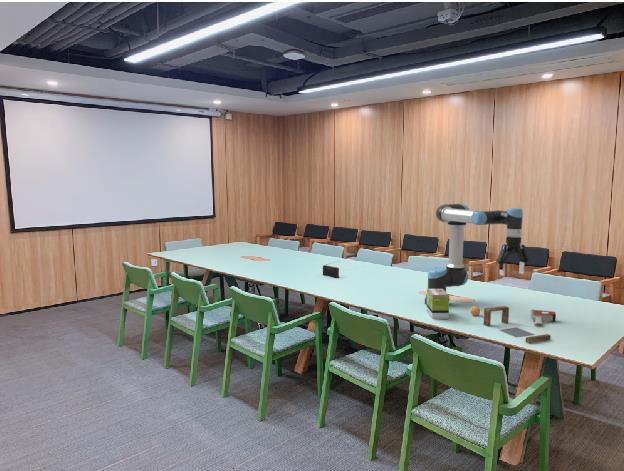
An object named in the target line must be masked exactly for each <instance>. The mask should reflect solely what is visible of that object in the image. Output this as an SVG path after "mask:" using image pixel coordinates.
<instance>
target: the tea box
mask: <svg viewBox="0 0 624 471" xmlns="http://www.w3.org/2000/svg"><path fill="white" fill-rule="evenodd" d="M426 295H427V304H426V312H427V314H428V315H429V317H430V318H431V319H432V320H449V319H450V294H449V293H448V292H447V290H446V291H445V290H443V289H428V288H426Z"/></svg>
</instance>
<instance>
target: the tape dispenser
mask: <svg viewBox="0 0 624 471" xmlns="http://www.w3.org/2000/svg"><path fill="white" fill-rule="evenodd" d="M556 314H557V313H556V311H552V310H550V311H549V310H542V309H541V310H540V309H539V310H538V309H531V310H530V317H531V319H532V321H533V323H534V327H536V328H542V327H543V326H544V324H543V323H549V322H552V323H555V322H556V321H557V320H556V318H557V317H556Z"/></svg>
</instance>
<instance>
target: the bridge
mask: <svg viewBox="0 0 624 471" xmlns="http://www.w3.org/2000/svg"><path fill="white" fill-rule="evenodd" d="M499 311H501V323H503V324H506V325H507V324H509V317H510V316H509V314H510V307H509V306H506V305H502V306H493V307H486V308H484V309H483V326H486V327H491V318H492V312H499Z"/></svg>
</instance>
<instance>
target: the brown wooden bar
mask: <svg viewBox="0 0 624 471" xmlns="http://www.w3.org/2000/svg"><path fill="white" fill-rule="evenodd" d="M551 337H552V335H551V334H548V333H545V334H539V335H530V336H525V343H526V344H535V343H541V342H547V341H551V339H552V338H551Z"/></svg>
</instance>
